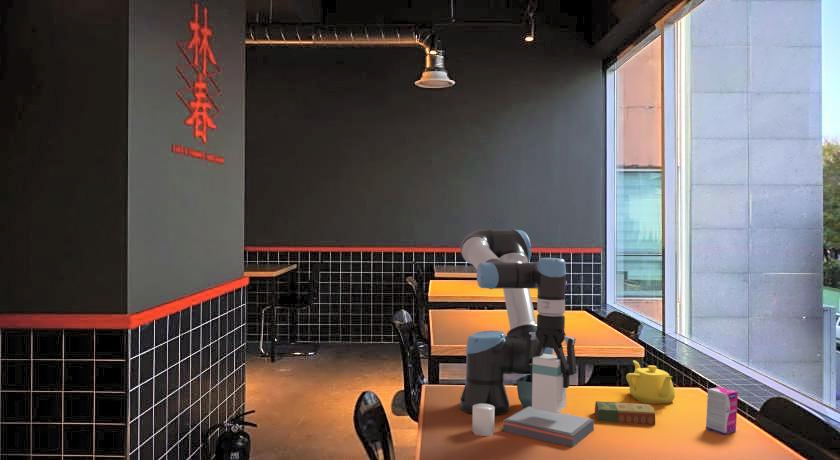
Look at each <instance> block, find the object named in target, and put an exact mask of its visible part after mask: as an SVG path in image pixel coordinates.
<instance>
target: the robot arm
mask: <svg viewBox="0 0 840 460" xmlns="http://www.w3.org/2000/svg"><path fill="white" fill-rule="evenodd" d="M531 248H532V245H531V239H530V237H529V236H528V234H527V233H526V232H525V231H524V230H521V229H515V228H513V229H512V228H511V229H485V228H483V229H477V230H474V231H473V232H471V233H469V234H467V235H466V236H465V237H464V238H463V240H462V242H461V245H460V254H461V256H462V258H463V260H465V261H466V262H467V263H468V264H470V265H473V267H474V268H475V270H476V281H477V286H478V287H479V288H481V289H488V290H493V289H494V290H495V289H498V290H499V289H502V290H503V295H504V302H505V308H506V313H507V318H508V324H509V330H508V331H507V333H506V334H505V332H504V331H501V330H482V331H479V332H474V333H472V334H470V335H469V336H468V338H467V340H466V349H465V353H466V363H465V364H466V367H465V368H466V371H465V376H466V377H465V385H464V388H463V391H462V394H461V396H460V400H459V408H460V409H461V410H462V411H463V412H466V413H469V414H472V415H473V405H475V404H490V405H493V406H494V407H495V415H494V416H499V415H503V414H506V413H508V412H509V411H510V400H509V398H508V393H507V390H506V386H505V375H526V374H529V375H531V382H532V375H533V373H532V364H533V357H536V356H542V355H543V354H550V355H554V353H555V354H556V355H557V359H560V366H561V371H562V374H563V375H561V376H560V400H564V399H565V398H566V399H567V389H569V387H570V376H573V375H575V374H576V373H577V362H576V361H577V360H576V352H575V343H576V337H573V336H572V337H570V336H568V335H567V333H565V327H566V326H565V324H566V323H565V322H566V316H565V315H564V314H566V281H567V279H566V276H567V275H566V274H567V270H566V261H565V259H564V258H557V257H540V258H539V259H538V261H532V262H530V261H531V259H532V249H531ZM530 289H533V290H535V289H537V301H536V302H537V303H536V305H537V306H536V310H537V311H536V312H537V313H538V314H537V315H535V309H534V305H533V301H532V295H531V290H530ZM564 341H565V345H566V355H567V356H565V352H564V347H563V344H562V343H563V342H564ZM565 357H567V360H566V358H565Z"/></svg>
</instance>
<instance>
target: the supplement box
mask: <svg viewBox="0 0 840 460" xmlns="http://www.w3.org/2000/svg"><path fill="white" fill-rule="evenodd" d="M738 394H739V392H738V391H736V390H733V389H728V388H725V387H721V386H718V387H713V388H712V387H711V388H707V403H706V404H707V405H706V418H705V419H706V421H705V429H706V430H708V431H711V432H715V433H718V434H721V435H727V434H731V433H735V432H736V431H737V414H738V398H739V396H738Z"/></svg>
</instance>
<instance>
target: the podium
mask: <svg viewBox="0 0 840 460" xmlns="http://www.w3.org/2000/svg"><path fill="white" fill-rule="evenodd" d="M594 423H595V420H594V419H593V418H589V417H584V416H579V415H574V414H569V413H563V412H560V411H559V412H557V413H553V412H548V411H543V410H538V409H532V407H530V406H527V407H526V408H524V407H523V408H522V409H520V410H519V411H517V412H515V413H513V414H512V415H510V416H508V417H507V418H504V419H503V420H502V432H506V433H510V434H513V435H518V436H522V437H527V438H531V439H536V440H540V441H544V442H548V443H553V444H556V445H562V446H565V447H569V448H574V447H575V446H576V445H577V444H579V443H580V442H581V441H582V440H584V439H585V438H586V437H588V435H590V434H592V433H593V431H594V429H595V424H594Z"/></svg>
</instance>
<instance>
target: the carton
mask: <svg viewBox="0 0 840 460" xmlns="http://www.w3.org/2000/svg"><path fill="white" fill-rule="evenodd" d="M594 404H595V405H594V415H595V417H596V419H597V422H599V423H601V422H602V423H612V424H613V423H615V424H617V423H618V424H628V425H642V426H643V425H645V426H656V412H655V410H654V408H653V407H652V406H651V404H649V403H636V402H635V403H633V402H632V403H631V402H619V401H618V402H617V401H599V400H597V401H595V403H594Z"/></svg>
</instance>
